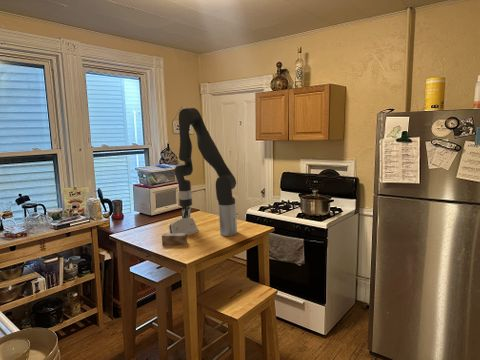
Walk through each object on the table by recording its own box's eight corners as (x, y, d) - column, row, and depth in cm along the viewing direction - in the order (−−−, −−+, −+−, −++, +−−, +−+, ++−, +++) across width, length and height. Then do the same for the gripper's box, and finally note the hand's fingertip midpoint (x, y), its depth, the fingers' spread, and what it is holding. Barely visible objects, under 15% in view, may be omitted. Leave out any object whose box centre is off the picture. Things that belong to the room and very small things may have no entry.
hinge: (175, 239, 176) (170, 221, 177) (170, 240, 179) (166, 222, 180) (199, 231, 187) (194, 214, 188) (195, 232, 191) (190, 216, 192)
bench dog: (187, 242, 170) (186, 233, 169) (185, 245, 166) (184, 235, 165) (165, 242, 171) (164, 233, 171) (162, 245, 167) (161, 235, 167)
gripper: (188, 200, 184) (190, 229, 187) (194, 195, 197) (196, 222, 200) (175, 200, 185) (177, 229, 188) (182, 195, 198) (184, 222, 201)
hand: (187, 225), depth 194 cm, fingers closed
